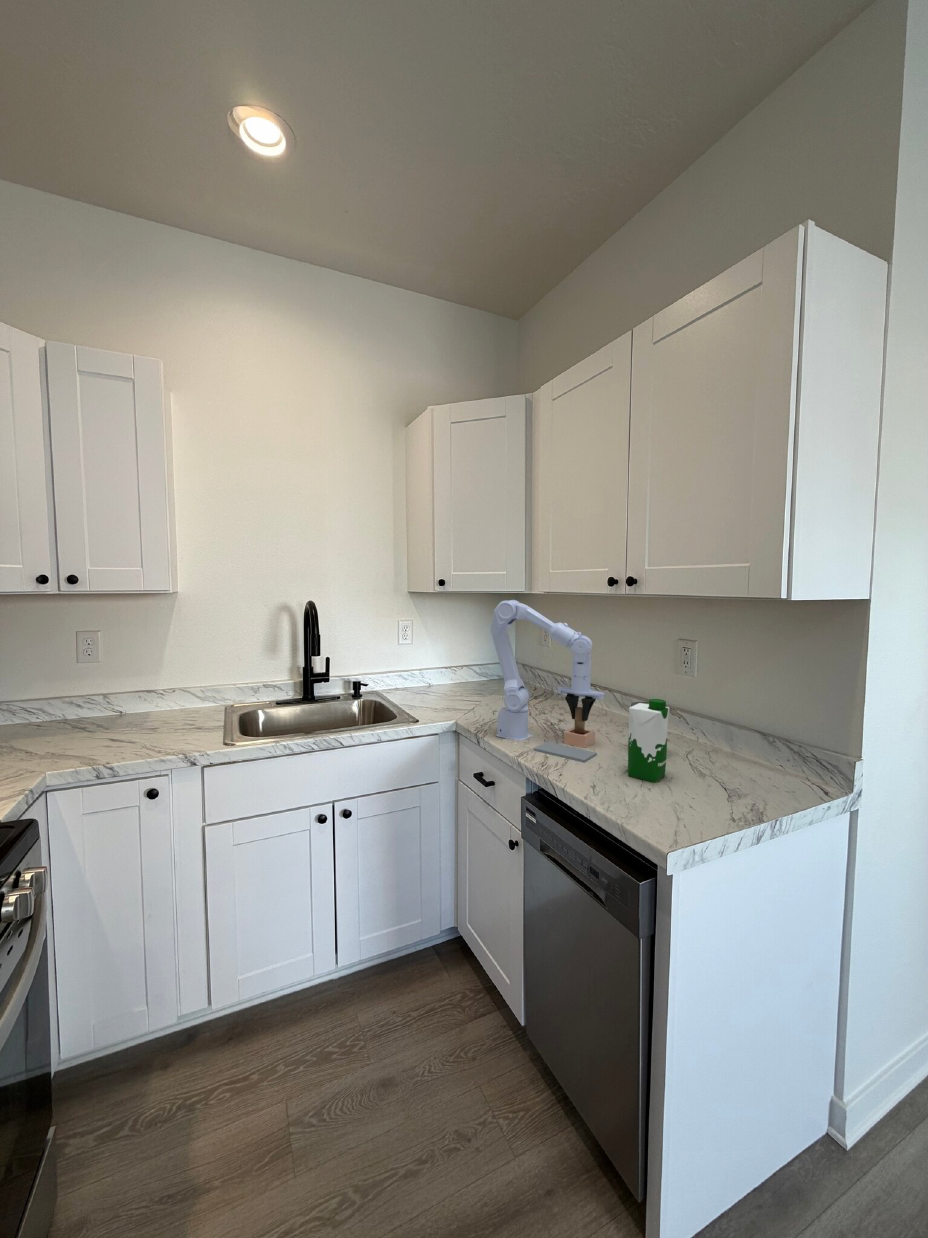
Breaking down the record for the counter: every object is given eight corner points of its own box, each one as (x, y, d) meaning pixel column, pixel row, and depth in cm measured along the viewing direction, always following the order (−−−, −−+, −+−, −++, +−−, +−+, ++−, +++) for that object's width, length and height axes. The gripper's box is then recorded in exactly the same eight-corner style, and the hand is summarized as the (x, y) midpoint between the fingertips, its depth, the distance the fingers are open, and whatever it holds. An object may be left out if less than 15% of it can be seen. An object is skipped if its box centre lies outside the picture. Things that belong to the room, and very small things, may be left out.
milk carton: (658, 785, 127) (661, 705, 126) (622, 776, 133) (625, 699, 131) (669, 775, 134) (672, 699, 132) (635, 767, 139) (637, 694, 138)
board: (533, 752, 151) (533, 748, 151) (547, 745, 157) (547, 741, 157) (584, 764, 141) (584, 760, 141) (596, 757, 147) (596, 752, 147)
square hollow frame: (563, 744, 158) (564, 732, 158) (573, 739, 164) (574, 727, 163) (584, 749, 154) (585, 736, 154) (594, 744, 159) (595, 731, 159)
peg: (572, 733, 158) (573, 708, 158) (577, 731, 161) (577, 706, 160) (581, 735, 156) (582, 709, 156) (586, 733, 159) (586, 708, 158)
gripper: (609, 676, 156) (607, 721, 157) (565, 671, 165) (564, 713, 166) (599, 680, 150) (598, 725, 151) (555, 674, 159) (553, 717, 160)
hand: (579, 719), depth 158 cm, fingers closed on peg, 3 cm apart
